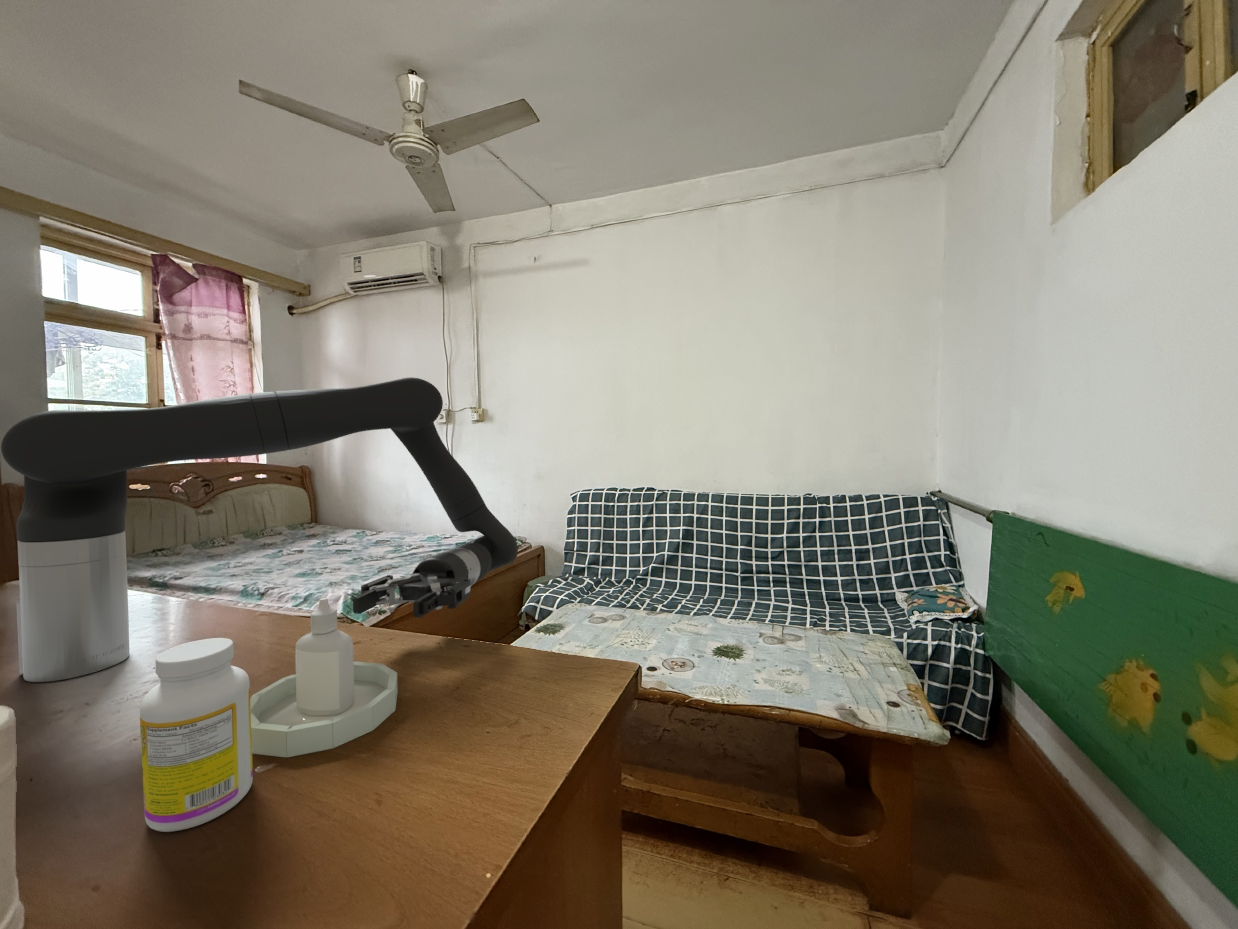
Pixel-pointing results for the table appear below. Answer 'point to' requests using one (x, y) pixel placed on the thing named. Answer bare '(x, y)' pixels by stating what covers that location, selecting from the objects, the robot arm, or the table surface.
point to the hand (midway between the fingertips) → (385, 608)
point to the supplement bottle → (195, 736)
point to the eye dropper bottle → (324, 666)
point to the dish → (299, 733)
